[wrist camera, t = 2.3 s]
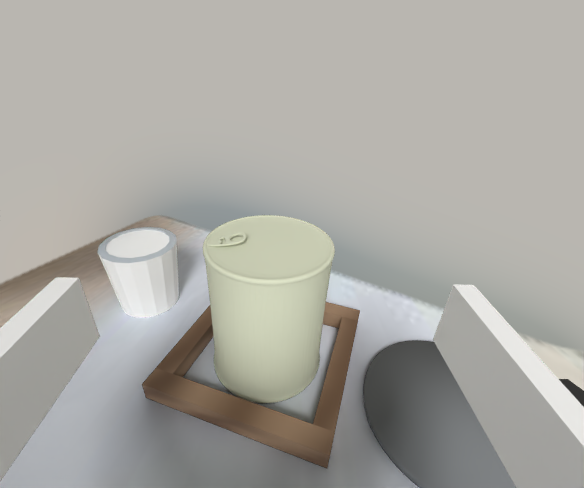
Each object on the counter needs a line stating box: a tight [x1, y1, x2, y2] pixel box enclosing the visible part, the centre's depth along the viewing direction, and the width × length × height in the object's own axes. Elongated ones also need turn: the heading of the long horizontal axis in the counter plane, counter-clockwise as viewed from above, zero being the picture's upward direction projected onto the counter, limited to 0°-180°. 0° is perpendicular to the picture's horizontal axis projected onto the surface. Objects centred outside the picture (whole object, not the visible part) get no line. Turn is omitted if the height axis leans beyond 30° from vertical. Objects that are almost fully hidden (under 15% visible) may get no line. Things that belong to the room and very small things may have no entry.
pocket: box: [142, 302, 360, 468], centre depth 27 cm, size 14×14×2 cm
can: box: [203, 215, 335, 403], centre depth 24 cm, size 9×9×12 cm
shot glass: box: [98, 227, 179, 318], centre depth 31 cm, size 7×7×7 cm
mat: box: [363, 341, 516, 488], centre depth 24 cm, size 13×13×1 cm
